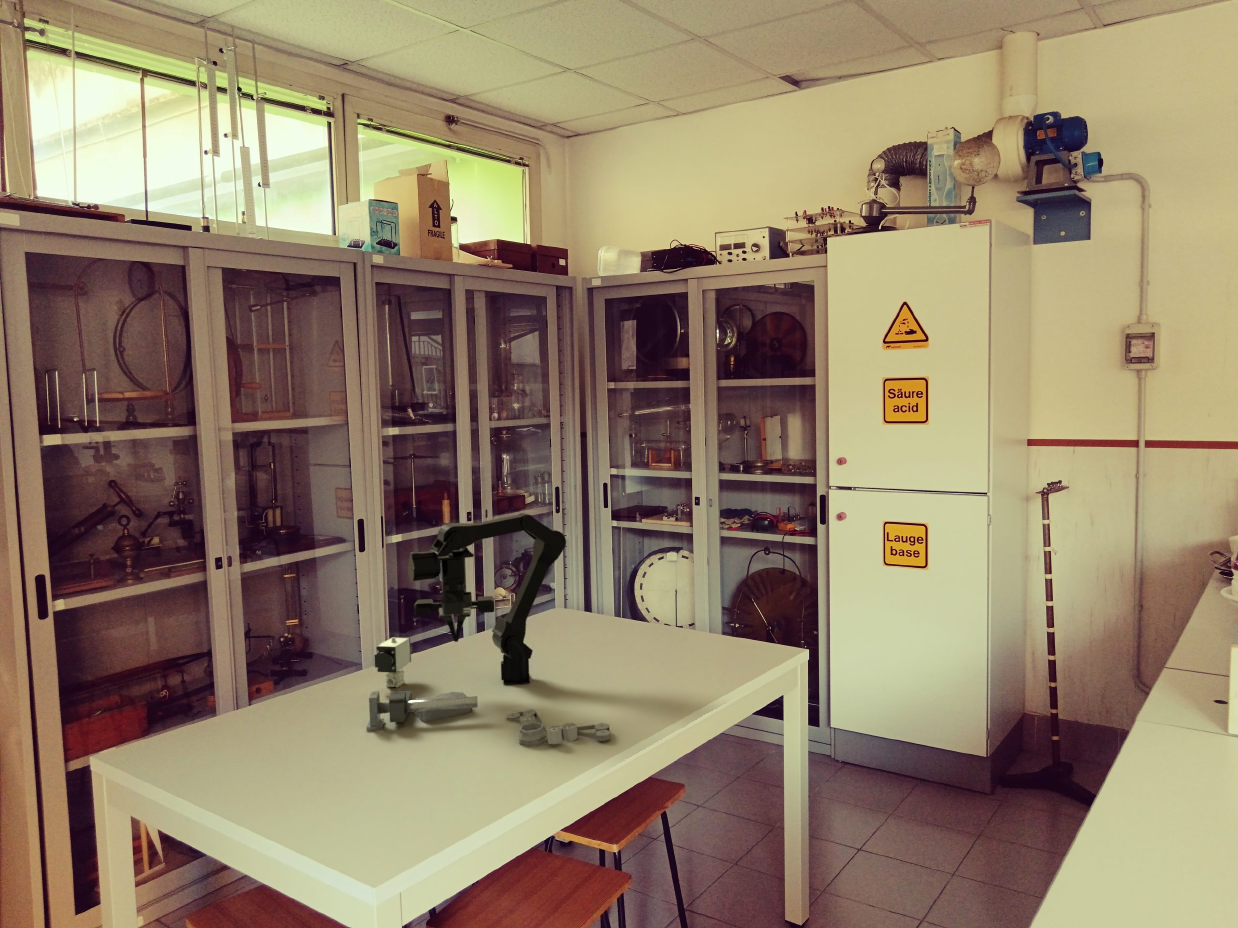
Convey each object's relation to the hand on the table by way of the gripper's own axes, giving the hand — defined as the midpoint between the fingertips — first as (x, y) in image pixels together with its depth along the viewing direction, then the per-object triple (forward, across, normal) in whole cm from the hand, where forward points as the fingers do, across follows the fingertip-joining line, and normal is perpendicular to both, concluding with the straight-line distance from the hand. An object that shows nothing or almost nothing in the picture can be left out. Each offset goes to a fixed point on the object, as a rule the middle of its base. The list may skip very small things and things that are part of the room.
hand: (456, 641), depth 215 cm
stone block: (+12, -3, -14) cm, 19 cm away
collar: (+11, -11, -16) cm, 23 cm away
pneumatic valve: (+12, -16, +7) cm, 21 cm away
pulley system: (+13, +20, -32) cm, 40 cm away
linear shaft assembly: (+12, -6, -21) cm, 25 cm away
